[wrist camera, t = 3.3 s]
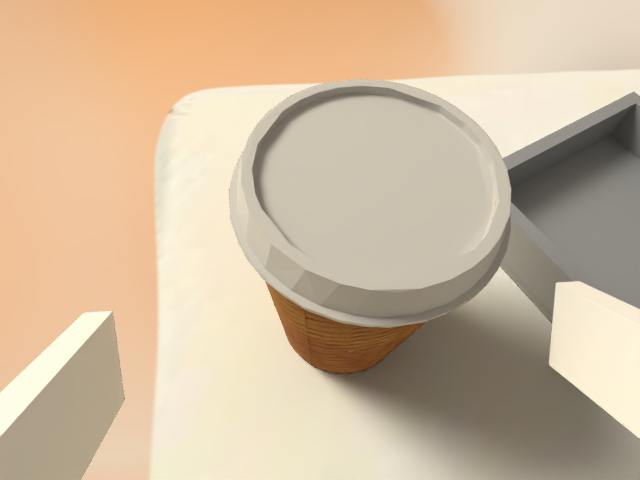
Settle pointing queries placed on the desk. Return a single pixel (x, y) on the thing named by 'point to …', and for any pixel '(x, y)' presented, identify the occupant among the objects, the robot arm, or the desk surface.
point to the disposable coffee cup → (368, 215)
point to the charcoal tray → (578, 207)
